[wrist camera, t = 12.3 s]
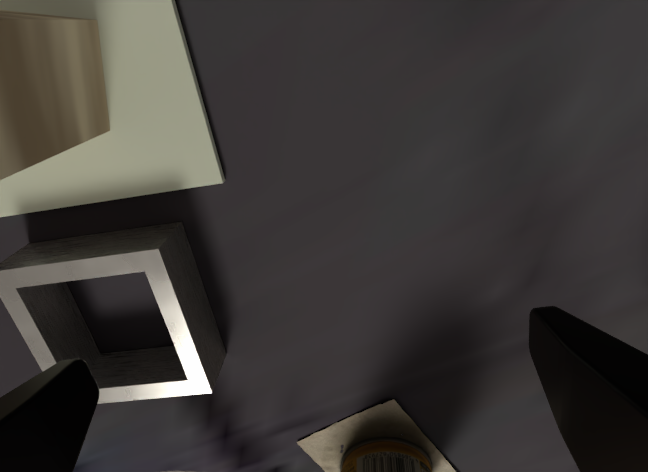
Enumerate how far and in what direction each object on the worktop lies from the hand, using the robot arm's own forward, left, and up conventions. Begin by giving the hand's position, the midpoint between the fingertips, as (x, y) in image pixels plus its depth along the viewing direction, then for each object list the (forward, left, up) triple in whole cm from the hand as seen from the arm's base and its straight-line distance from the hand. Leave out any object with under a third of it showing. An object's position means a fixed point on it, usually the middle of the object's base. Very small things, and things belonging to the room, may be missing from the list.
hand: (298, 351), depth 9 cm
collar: (+12, +6, -13) cm, 19 cm away
